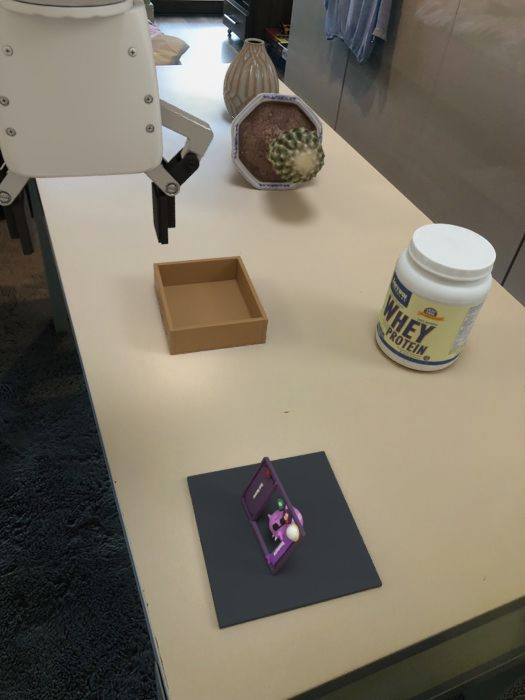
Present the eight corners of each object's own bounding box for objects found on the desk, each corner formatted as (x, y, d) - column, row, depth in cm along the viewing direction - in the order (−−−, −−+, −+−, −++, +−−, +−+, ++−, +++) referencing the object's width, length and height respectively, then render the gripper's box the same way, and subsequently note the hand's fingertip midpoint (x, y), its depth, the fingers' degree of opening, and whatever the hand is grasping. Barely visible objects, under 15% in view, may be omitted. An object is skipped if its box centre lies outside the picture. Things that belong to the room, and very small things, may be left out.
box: (170, 355, 74) (170, 331, 71) (154, 286, 84) (153, 263, 81) (265, 342, 77) (268, 319, 74) (238, 278, 88) (240, 255, 85)
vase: (213, 112, 136) (216, 33, 124) (261, 108, 141) (268, 31, 129) (234, 133, 128) (239, 51, 116) (284, 128, 133) (294, 49, 121)
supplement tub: (356, 340, 79) (384, 239, 68) (404, 306, 86) (438, 209, 74) (428, 388, 74) (472, 287, 62) (474, 348, 80) (521, 250, 69)
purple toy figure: (258, 456, 54) (296, 536, 49) (300, 453, 57) (341, 529, 51) (233, 497, 58) (265, 577, 52) (274, 493, 61) (309, 568, 55)
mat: (219, 629, 49) (220, 627, 49) (186, 479, 60) (186, 476, 60) (381, 586, 53) (382, 584, 53) (323, 453, 64) (324, 450, 64)
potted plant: (220, 83, 109) (256, 101, 84) (306, 90, 114) (364, 108, 89) (217, 174, 118) (248, 215, 93) (297, 177, 122) (347, 216, 97)
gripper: (203, -35, 35) (199, 208, 47) (-106, -52, 31) (-24, 221, 42) (231, -7, 30) (219, 258, 42) (-135, -22, 25) (-32, 280, 37)
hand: (97, 239), depth 42 cm, fingers open, 9 cm apart
